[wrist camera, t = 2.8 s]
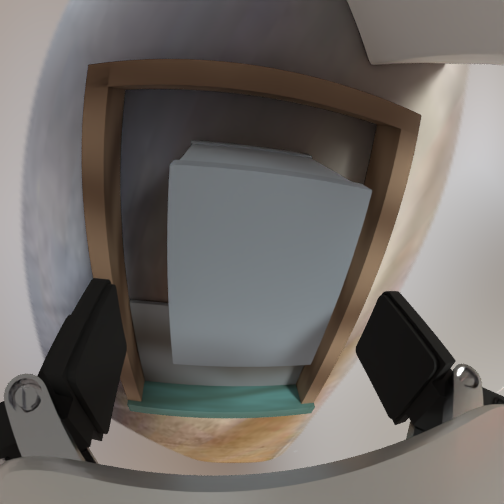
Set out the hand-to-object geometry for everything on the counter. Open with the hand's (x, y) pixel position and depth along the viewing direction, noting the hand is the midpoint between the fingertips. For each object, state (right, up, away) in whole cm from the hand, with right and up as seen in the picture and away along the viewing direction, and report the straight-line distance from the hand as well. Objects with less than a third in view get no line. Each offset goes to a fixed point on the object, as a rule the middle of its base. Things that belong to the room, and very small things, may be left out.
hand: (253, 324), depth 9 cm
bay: (-1, 0, +9) cm, 9 cm away
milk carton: (+9, +17, +1) cm, 19 cm away
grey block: (-1, +4, +7) cm, 8 cm away
